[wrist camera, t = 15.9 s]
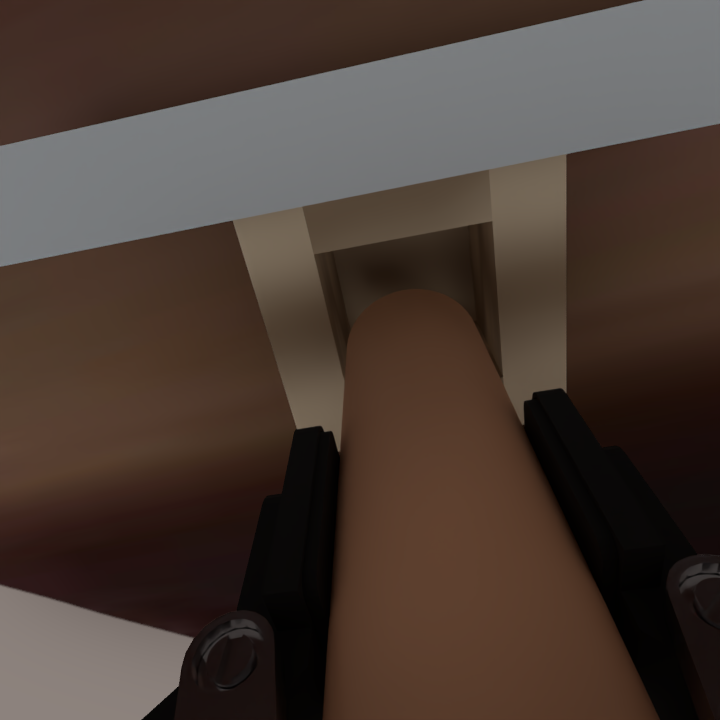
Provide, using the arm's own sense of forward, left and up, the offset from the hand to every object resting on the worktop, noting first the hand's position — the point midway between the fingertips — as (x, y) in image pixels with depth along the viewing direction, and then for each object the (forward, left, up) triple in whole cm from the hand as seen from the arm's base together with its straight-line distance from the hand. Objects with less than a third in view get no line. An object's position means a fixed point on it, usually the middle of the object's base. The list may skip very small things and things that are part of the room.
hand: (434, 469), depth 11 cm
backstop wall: (+6, 0, -13) cm, 15 cm away
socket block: (0, 0, -13) cm, 13 cm away
